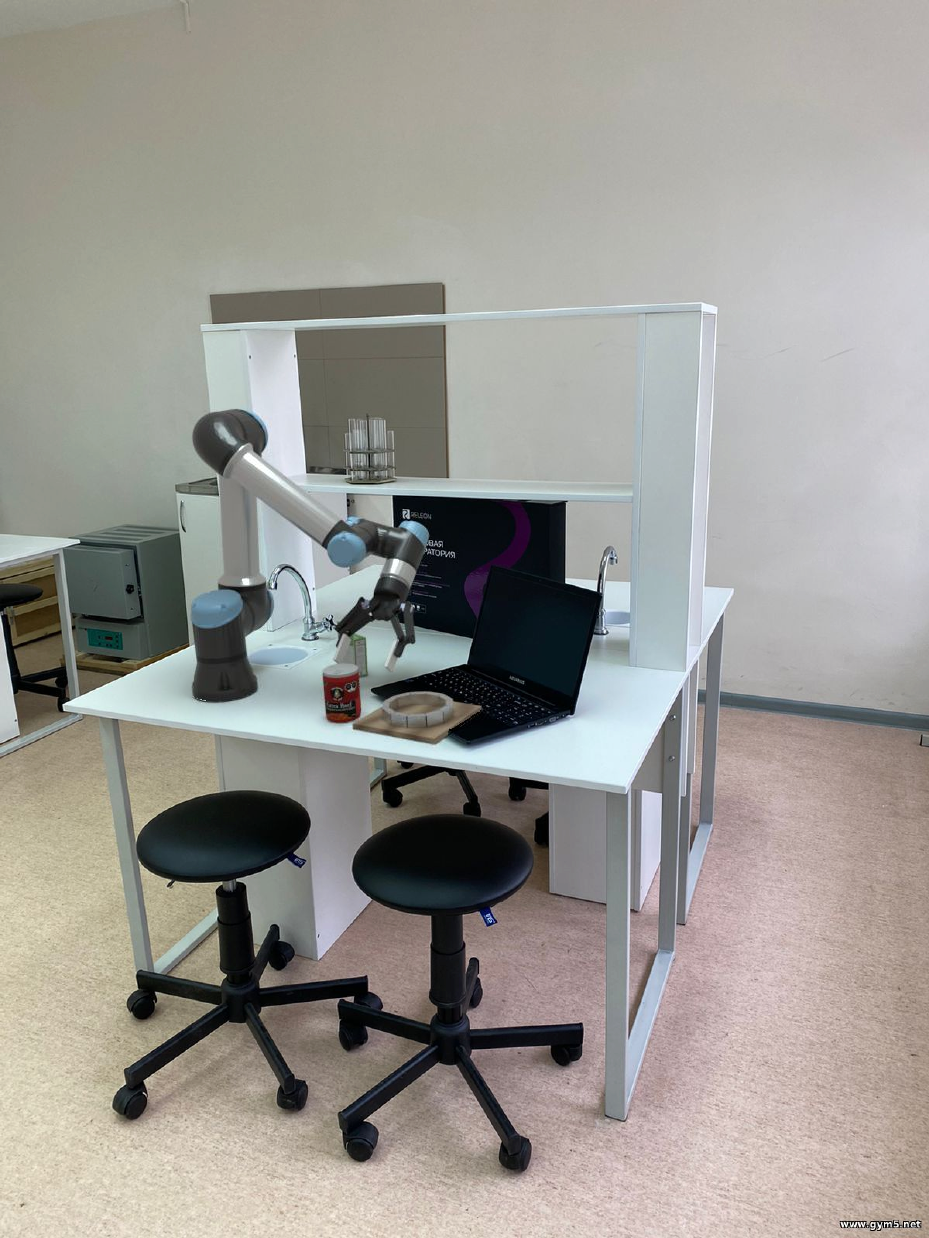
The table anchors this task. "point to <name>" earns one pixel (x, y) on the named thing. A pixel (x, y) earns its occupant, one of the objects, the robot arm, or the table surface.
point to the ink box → (357, 653)
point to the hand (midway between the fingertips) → (362, 665)
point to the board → (427, 735)
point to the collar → (417, 719)
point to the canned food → (342, 693)
